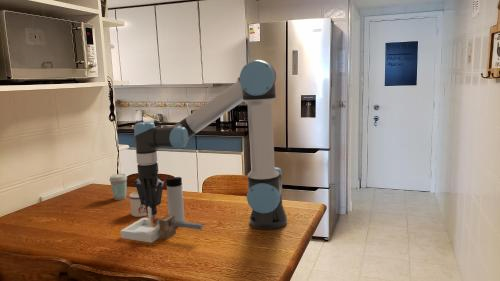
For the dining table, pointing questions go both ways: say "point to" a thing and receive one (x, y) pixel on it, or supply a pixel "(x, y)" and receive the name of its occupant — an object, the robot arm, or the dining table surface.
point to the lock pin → (176, 223)
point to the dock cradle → (141, 231)
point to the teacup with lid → (137, 205)
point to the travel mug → (175, 198)
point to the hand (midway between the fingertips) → (152, 222)
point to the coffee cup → (119, 186)
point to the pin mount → (166, 227)
